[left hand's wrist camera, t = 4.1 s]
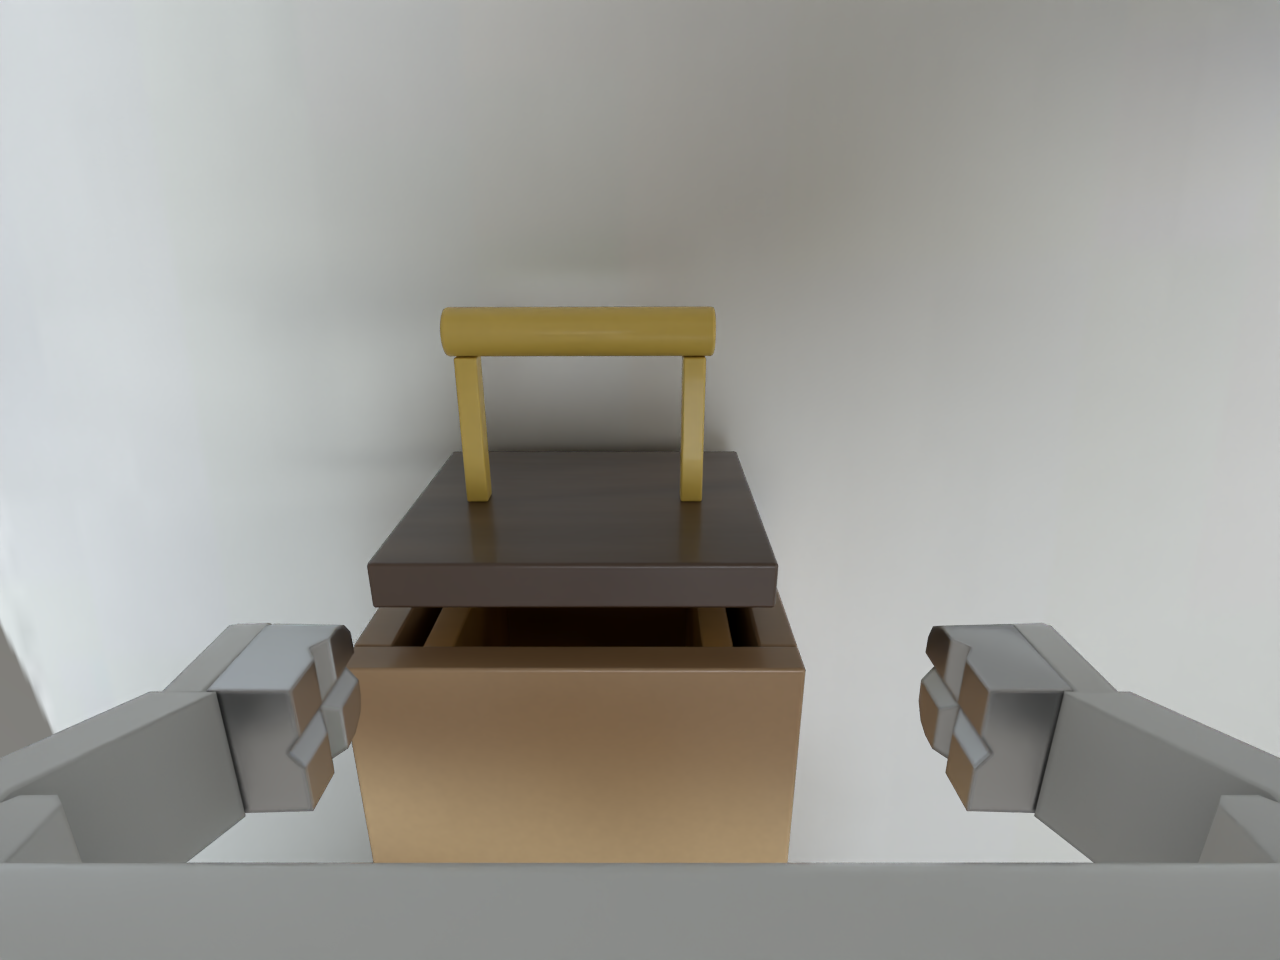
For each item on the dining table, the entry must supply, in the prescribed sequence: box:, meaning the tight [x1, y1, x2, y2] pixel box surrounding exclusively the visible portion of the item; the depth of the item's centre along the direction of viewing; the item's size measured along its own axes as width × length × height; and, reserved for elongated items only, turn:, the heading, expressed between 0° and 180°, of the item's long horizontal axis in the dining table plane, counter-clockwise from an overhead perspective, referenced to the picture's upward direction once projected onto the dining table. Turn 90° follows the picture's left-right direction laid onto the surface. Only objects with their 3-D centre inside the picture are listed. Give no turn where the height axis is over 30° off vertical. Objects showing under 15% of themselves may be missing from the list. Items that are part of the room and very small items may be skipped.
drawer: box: [367, 307, 778, 647], centre depth 23 cm, size 24×10×8 cm, turn 0°
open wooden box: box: [346, 590, 805, 863], centre depth 25 cm, size 20×11×10 cm, turn 0°
